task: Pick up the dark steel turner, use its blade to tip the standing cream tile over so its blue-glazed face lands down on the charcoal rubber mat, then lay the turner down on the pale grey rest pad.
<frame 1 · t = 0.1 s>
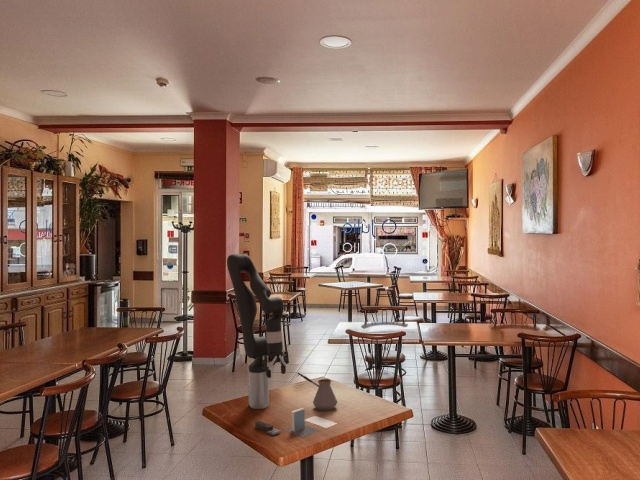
hand: (276, 375, 240), 17 cm above the table, tool pointing down, fingers open, 8 cm apart
mat: (301, 431, 216), on the table
turner: (266, 432, 217), on the table
tile: (298, 428, 218), point 1 cm above the table, touching mat
rest pad: (320, 423, 225), on the table
coffee pot: (316, 406, 247), on the table
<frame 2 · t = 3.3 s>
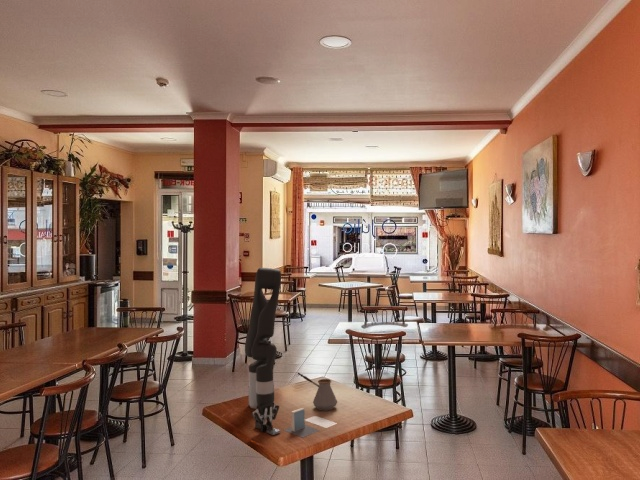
hand: (266, 431, 217), 0 cm above the table, tool pointing down, fingers closed on turner, 2 cm apart
turner: (266, 431, 217), on the table, touching gripper
everything else where it was.
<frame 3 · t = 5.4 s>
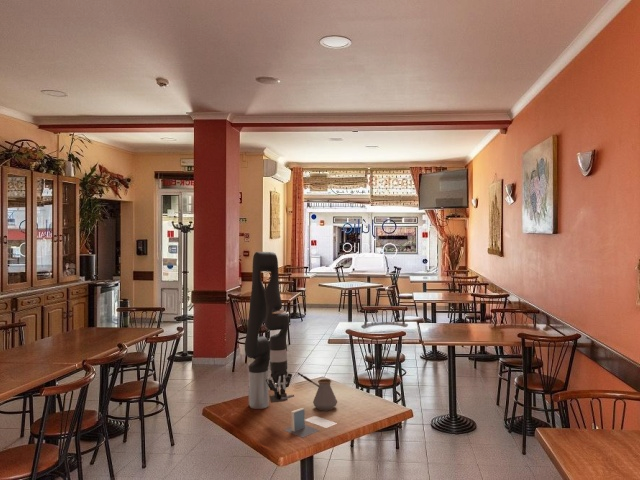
hand: (279, 398, 226), 11 cm above the table, tool pointing down, fingers closed on turner, 2 cm apart
turner: (281, 401, 225), point 10 cm above the table, tilted 16°, touching gripper
everything else where it was.
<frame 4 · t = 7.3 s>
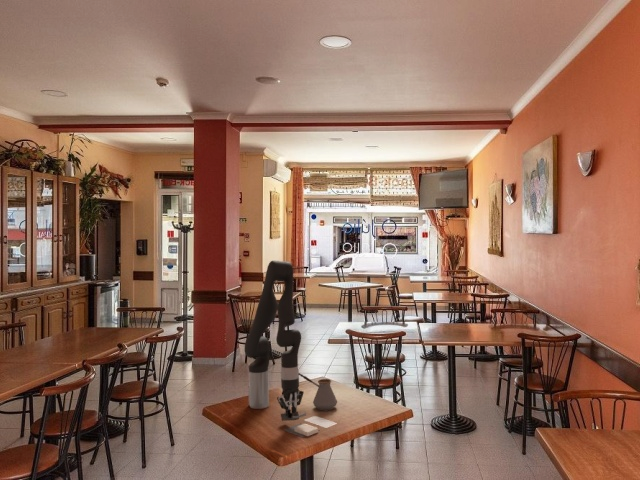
hand: (291, 416, 220), 5 cm above the table, tool pointing down, fingers closed on turner, 2 cm apart
turner: (292, 419, 220), point 4 cm above the table, tilted 15°, touching gripper
tile: (299, 427, 217), point 2 cm above the table, tilted 90°, touching mat
everything else where it was.
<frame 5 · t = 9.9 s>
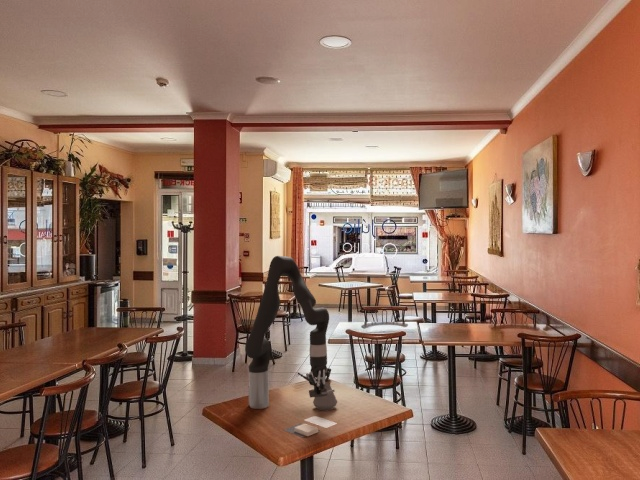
hand: (319, 393, 225), 13 cm above the table, tool pointing down, fingers closed on turner, 2 cm apart
turner: (321, 396, 224), point 12 cm above the table, tilted 15°, touching gripper
everything else where it was.
when the fingers open (3 cm above the table, at t = 12.0 s): turner drops 1 cm, resting on rest pad.
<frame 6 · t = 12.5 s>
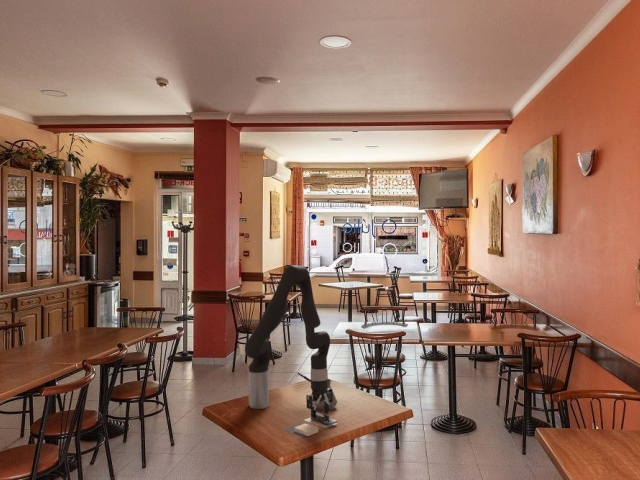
hand: (320, 415, 225), 3 cm above the table, tool pointing down, fingers open, 7 cm apart
turner: (322, 422, 224), point 1 cm above the table, touching rest pad
everything else where it was.
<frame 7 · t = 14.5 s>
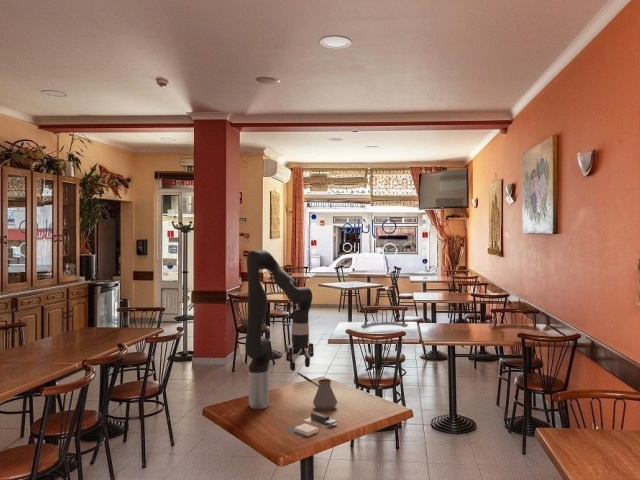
hand: (300, 368, 230), 23 cm above the table, tool pointing down, fingers open, 8 cm apart
nothing on the table moved.
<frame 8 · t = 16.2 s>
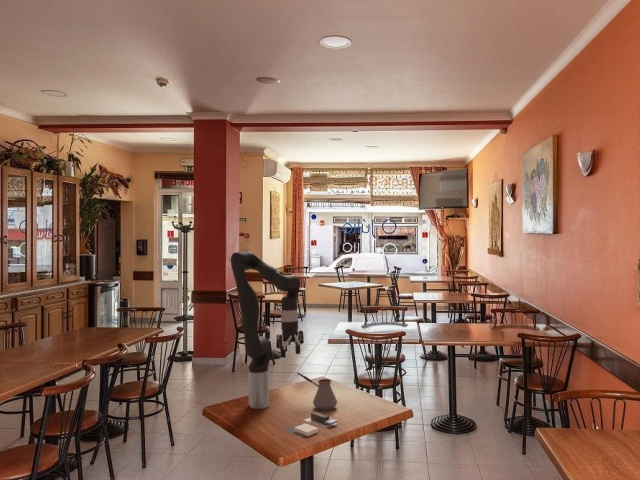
hand: (290, 355, 232), 28 cm above the table, tool pointing down, fingers open, 8 cm apart
nothing on the table moved.
at the end: tile tilted 90°; turner inside the target area on the rest pad (1.2 cm from its centre), point 0.6 cm above the rest pad's base; the gripper is holding nothing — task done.
